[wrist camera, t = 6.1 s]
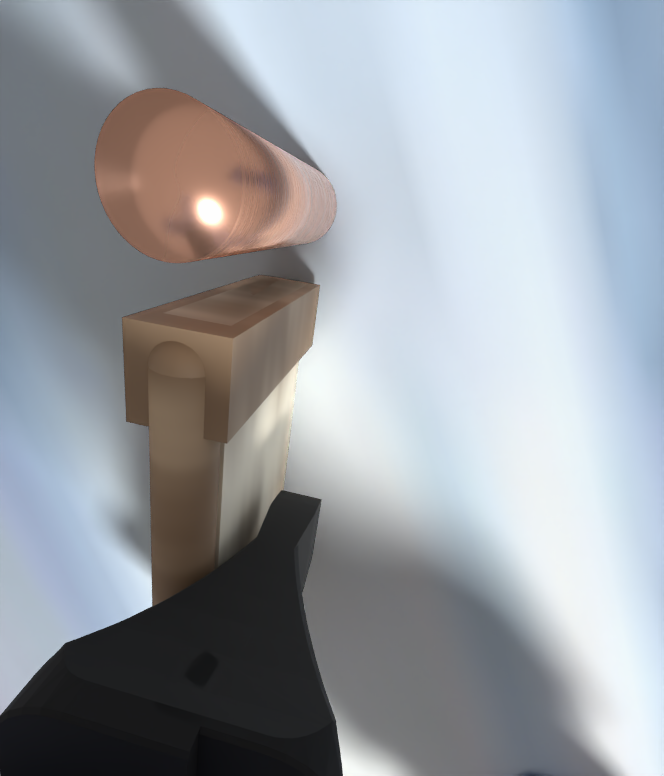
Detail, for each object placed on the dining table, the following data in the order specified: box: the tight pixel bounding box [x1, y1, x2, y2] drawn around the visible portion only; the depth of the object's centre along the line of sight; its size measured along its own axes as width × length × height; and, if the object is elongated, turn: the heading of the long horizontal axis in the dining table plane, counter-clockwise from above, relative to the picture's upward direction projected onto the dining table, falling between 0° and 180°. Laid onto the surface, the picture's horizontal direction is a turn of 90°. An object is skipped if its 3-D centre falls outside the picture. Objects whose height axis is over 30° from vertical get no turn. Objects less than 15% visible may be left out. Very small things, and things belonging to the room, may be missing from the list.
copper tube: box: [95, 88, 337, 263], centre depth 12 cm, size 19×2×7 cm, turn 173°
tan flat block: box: [122, 275, 320, 606], centre depth 12 cm, size 14×2×7 cm, turn 173°
